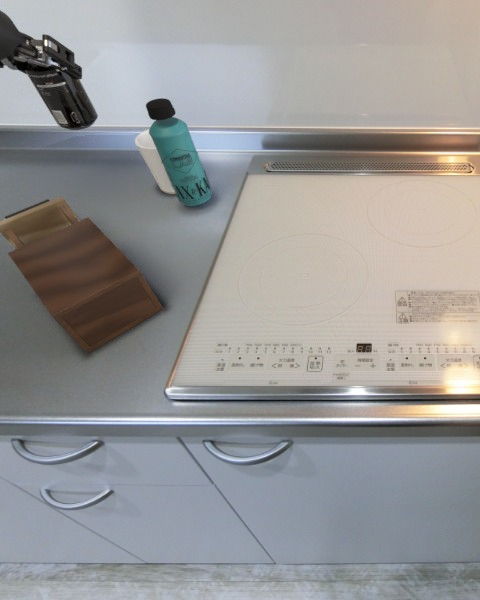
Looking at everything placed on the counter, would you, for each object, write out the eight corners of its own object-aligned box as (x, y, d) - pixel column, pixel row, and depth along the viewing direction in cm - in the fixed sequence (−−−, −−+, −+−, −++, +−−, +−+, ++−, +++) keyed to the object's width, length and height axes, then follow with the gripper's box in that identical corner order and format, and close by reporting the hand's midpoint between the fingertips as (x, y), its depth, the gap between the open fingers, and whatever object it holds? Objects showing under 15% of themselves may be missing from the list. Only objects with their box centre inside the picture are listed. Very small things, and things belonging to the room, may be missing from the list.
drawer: (11, 242, 77) (-16, 211, 72) (72, 215, 82) (51, 184, 77) (57, 304, 68) (29, 273, 62) (123, 270, 73) (102, 239, 68)
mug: (210, 184, 91) (192, 137, 83) (167, 201, 87) (145, 154, 79) (187, 162, 96) (169, 117, 88) (147, 178, 92) (123, 131, 84)
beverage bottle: (175, 203, 86) (127, 102, 71) (205, 189, 89) (166, 89, 74) (192, 217, 83) (146, 115, 68) (222, 202, 86) (185, 101, 71)
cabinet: (43, 292, 71) (7, 253, 64) (114, 256, 76) (88, 217, 70) (87, 353, 63) (51, 316, 56) (163, 308, 68) (139, 269, 62)
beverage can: (78, 113, 84) (41, 45, 75) (108, 118, 83) (73, 49, 74) (51, 130, 80) (7, 59, 71) (82, 135, 79) (42, 64, 70)
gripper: (12, -10, 59) (99, 52, 76) (-91, -11, 60) (18, 50, 76) (14, 47, 60) (99, 96, 76) (-88, 45, 60) (19, 94, 77)
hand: (58, 73), depth 76 cm, fingers closed on beverage can, 7 cm apart
